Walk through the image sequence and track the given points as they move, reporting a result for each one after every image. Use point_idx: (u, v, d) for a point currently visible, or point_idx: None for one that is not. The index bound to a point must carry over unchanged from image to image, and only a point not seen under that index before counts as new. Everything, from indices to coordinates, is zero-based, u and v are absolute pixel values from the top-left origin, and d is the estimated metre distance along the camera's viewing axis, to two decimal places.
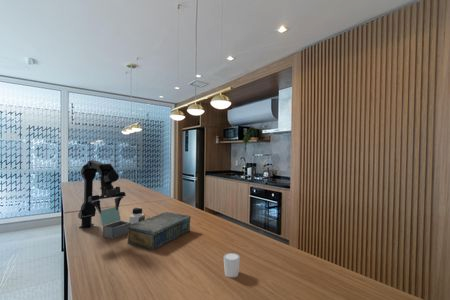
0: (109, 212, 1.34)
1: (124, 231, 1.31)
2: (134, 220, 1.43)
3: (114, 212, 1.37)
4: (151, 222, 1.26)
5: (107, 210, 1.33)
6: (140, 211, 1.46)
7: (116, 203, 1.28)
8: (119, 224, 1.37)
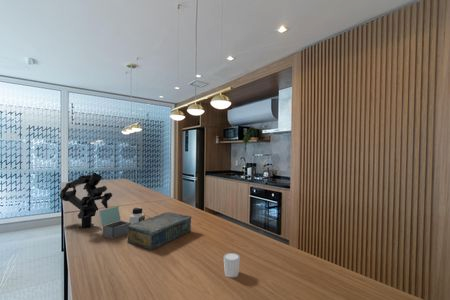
0: (109, 212, 1.34)
1: (124, 231, 1.31)
2: (134, 220, 1.43)
3: (114, 212, 1.37)
4: (151, 222, 1.27)
5: (107, 210, 1.33)
6: (140, 211, 1.46)
7: (104, 203, 1.42)
8: (119, 224, 1.37)
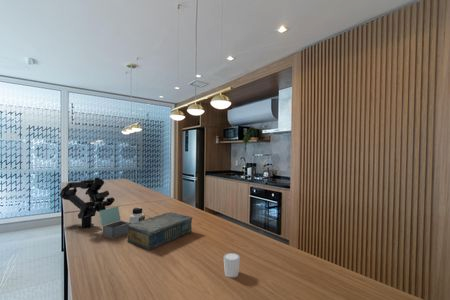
0: (109, 212, 1.34)
1: (124, 231, 1.31)
2: (134, 220, 1.43)
3: (114, 212, 1.37)
4: (151, 222, 1.27)
5: (107, 210, 1.33)
6: (140, 211, 1.46)
7: (102, 209, 1.38)
8: (119, 224, 1.37)
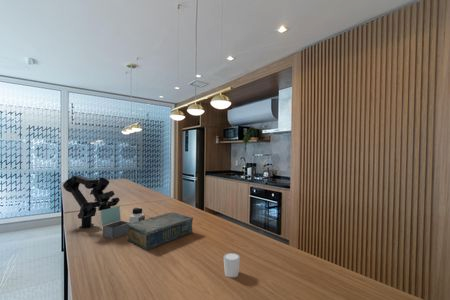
0: (110, 212, 1.34)
1: (124, 231, 1.31)
2: (134, 220, 1.43)
3: (115, 212, 1.36)
4: (151, 222, 1.27)
5: (108, 210, 1.33)
6: (140, 211, 1.46)
7: None
8: (119, 224, 1.37)
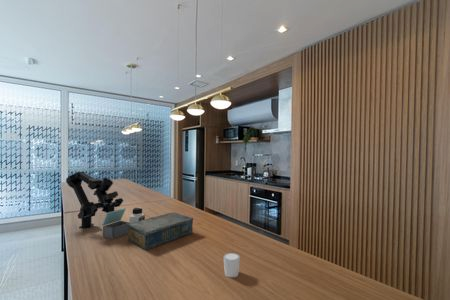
0: (115, 214, 1.32)
1: (124, 231, 1.31)
2: (134, 220, 1.43)
3: (119, 214, 1.35)
4: (151, 222, 1.27)
5: (114, 212, 1.30)
6: (140, 211, 1.46)
7: None
8: (119, 224, 1.37)
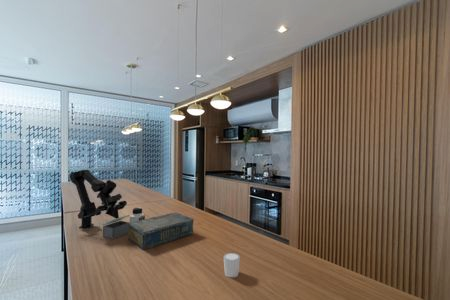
0: (118, 219, 1.30)
1: (124, 231, 1.31)
2: (134, 220, 1.43)
3: (121, 218, 1.34)
4: (152, 221, 1.28)
5: (118, 219, 1.29)
6: (140, 211, 1.46)
7: None
8: (119, 224, 1.37)
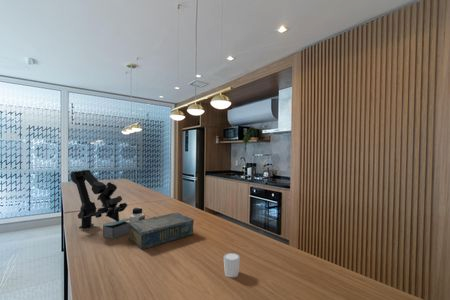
0: (118, 222, 1.30)
1: (124, 231, 1.31)
2: (134, 220, 1.43)
3: None
4: (152, 221, 1.28)
5: (118, 223, 1.29)
6: (140, 211, 1.46)
7: None
8: (119, 224, 1.37)
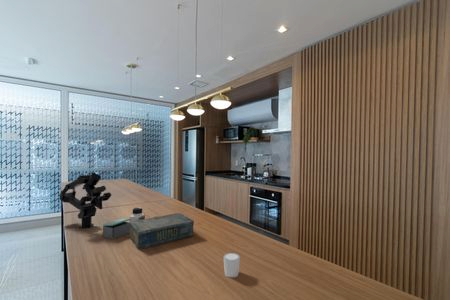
0: (118, 222, 1.30)
1: (124, 231, 1.31)
2: (134, 220, 1.43)
3: None
4: (152, 221, 1.28)
5: (118, 223, 1.29)
6: (140, 211, 1.46)
7: None
8: (119, 224, 1.37)
